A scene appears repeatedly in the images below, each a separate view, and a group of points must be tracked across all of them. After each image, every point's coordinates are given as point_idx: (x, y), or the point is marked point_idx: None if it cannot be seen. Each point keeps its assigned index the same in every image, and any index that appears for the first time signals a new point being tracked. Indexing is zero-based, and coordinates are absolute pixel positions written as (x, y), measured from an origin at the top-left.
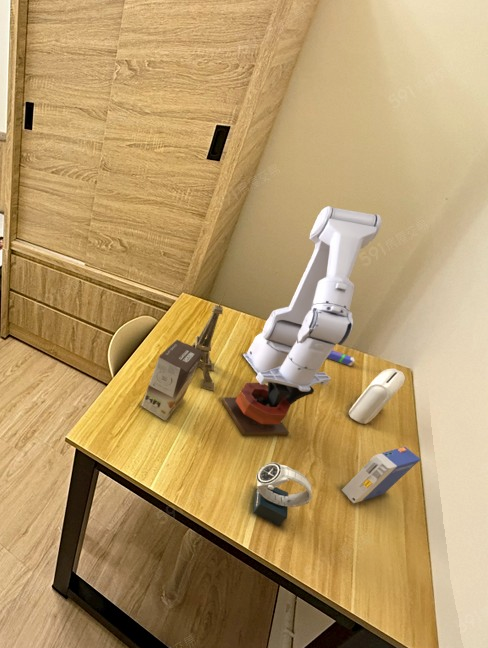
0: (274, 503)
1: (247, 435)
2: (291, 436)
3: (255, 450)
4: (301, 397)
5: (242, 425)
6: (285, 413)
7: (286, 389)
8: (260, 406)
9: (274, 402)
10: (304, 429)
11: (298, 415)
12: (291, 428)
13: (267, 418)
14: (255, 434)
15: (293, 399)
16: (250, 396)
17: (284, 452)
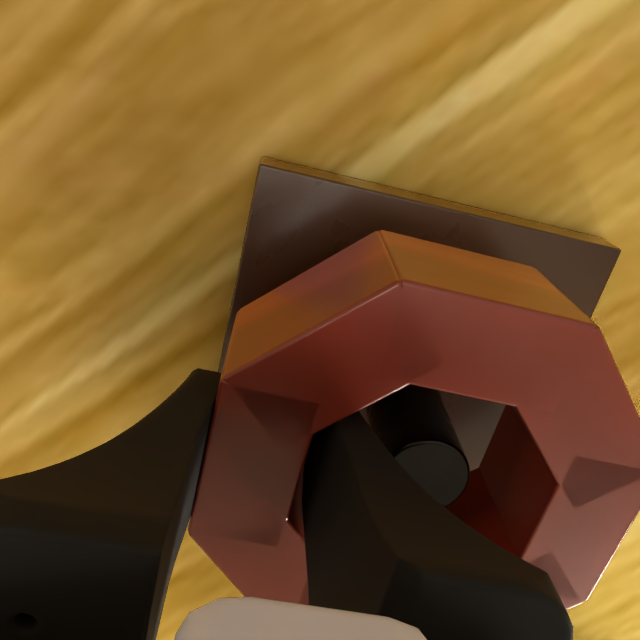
0: None
1: (570, 230)
2: (224, 143)
3: (632, 97)
4: (110, 446)
5: (579, 307)
6: (393, 295)
7: (433, 633)
8: (584, 426)
9: (378, 440)
10: (56, 176)
11: (5, 300)
12: (161, 209)
13: (553, 294)
14: (521, 220)
15: (196, 437)
16: (560, 540)
17: (418, 18)
